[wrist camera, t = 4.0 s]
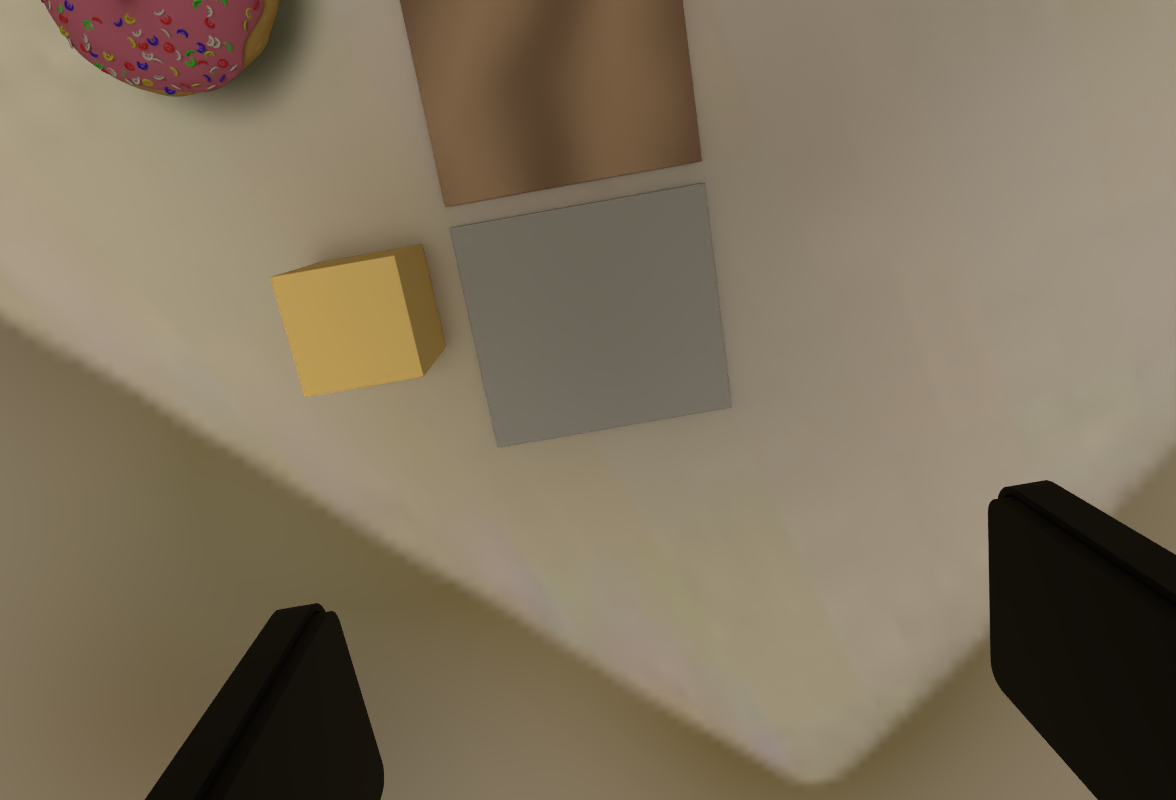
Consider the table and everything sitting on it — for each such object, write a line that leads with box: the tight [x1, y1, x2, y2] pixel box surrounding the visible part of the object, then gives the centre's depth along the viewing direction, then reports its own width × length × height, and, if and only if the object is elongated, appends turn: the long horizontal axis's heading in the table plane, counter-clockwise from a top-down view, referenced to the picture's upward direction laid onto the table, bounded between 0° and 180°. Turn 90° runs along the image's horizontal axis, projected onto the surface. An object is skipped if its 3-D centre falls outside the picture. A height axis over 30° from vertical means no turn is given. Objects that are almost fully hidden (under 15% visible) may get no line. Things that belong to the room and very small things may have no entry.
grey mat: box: [450, 183, 731, 448], centre depth 35 cm, size 12×11×1 cm
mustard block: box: [270, 245, 446, 397], centre depth 32 cm, size 5×5×6 cm
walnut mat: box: [400, 0, 702, 206], centre depth 32 cm, size 12×11×1 cm
